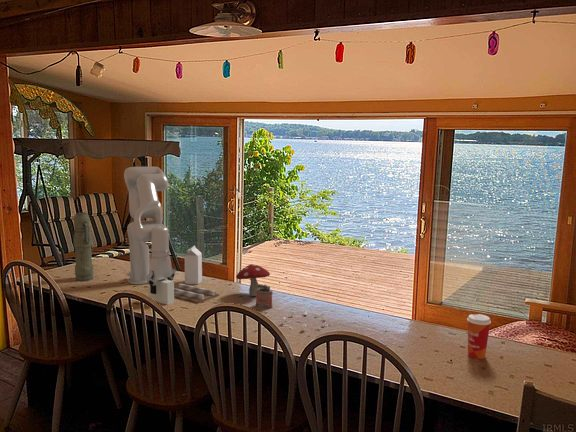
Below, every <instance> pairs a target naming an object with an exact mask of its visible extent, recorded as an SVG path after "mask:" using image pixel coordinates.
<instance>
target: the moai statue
mask: <svg viewBox="0 0 576 432" xmlns="http://www.w3.org/2000/svg"><path fill="white" fill-rule="evenodd" d="M90 220H91V219H90V216H89V214H88V213H87V212H76V213H75V214H74V218H73V228H74V234H73V237H72V238H73V247H74V253H75V255H74V257H75V258H74V259H75V266H74V275H75V280H76V281H78V282H87V281H91V280H94V265H93V259H92V256H93V255H92V247H93V236H92V233H91V229H90V228H91V221H90Z"/></svg>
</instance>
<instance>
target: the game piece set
mask: <svg viewBox="0 0 576 432" xmlns="http://www.w3.org/2000/svg"><path fill="white" fill-rule="evenodd" d="M295 313H296V312H295V311H290V317H293V318H294V317H295ZM307 315H308V312H307V310H306V309H304V311H303V316H307ZM315 318H320V314H319V312H316V313H315ZM327 319H328V318H327V316H326V313H325V312H323V320H324V322H323V324H322V326H323V327H328V325H329V323H327ZM286 320H287V318H286V317H285V316H283V317H281V321H280V322H281V325H285V321H286ZM317 323H319V320H317ZM319 325H320V324H317V327H316V330H318V331H319V330H320V331H321V327H320V326H319ZM287 327H289V328H288V330H289V329H290V330H293V329H294V328H293V327H292V326H289V325H288V324H287ZM301 327H302V331H303V332H305V331H306V330H307V324H305V323H303V324H302V325H301Z"/></svg>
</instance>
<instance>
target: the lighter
mask: <svg viewBox="0 0 576 432" xmlns="http://www.w3.org/2000/svg"><path fill="white" fill-rule="evenodd" d="M257 287H259V288H260V289H256V296H255V307H256V308H257V307H258V308H261V309H273V290H271V286H270V285H267V284H259V283H258V285H257Z"/></svg>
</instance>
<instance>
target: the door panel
mask: <svg viewBox="0 0 576 432" xmlns="http://www.w3.org/2000/svg"><path fill="white" fill-rule="evenodd" d="M150 280H151V279H150ZM153 282H154V281H153ZM155 285H156V292H157V293H156V294H152V293H151V292H150V285H149V284H148V298H149V297H151V298H153V299H154V300H155V301H157V302H156V303H159V304H163V305H167V306H169V305H171V304H175V298H174V288H175V281H174V280H172V281H171V280H168V279H167V278H165V279H162V280H157V282H156V284H155ZM155 301H154V302H155Z"/></svg>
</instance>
